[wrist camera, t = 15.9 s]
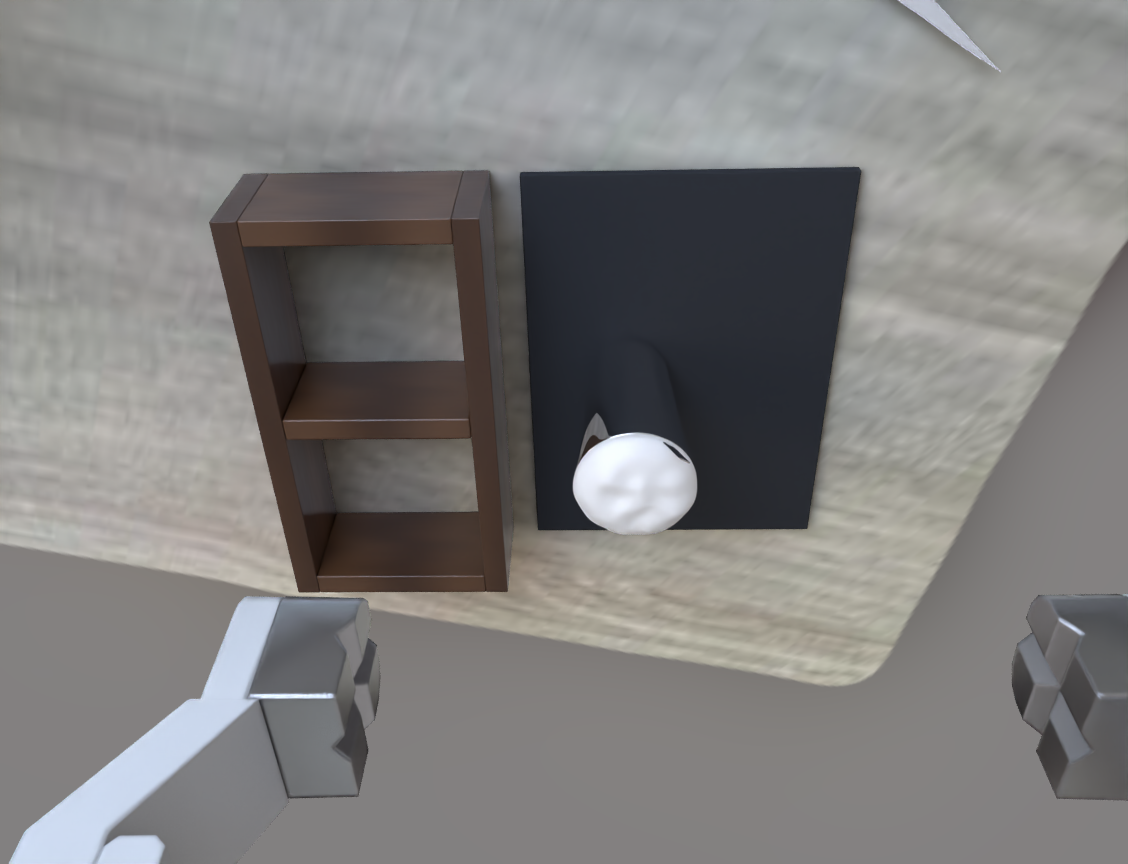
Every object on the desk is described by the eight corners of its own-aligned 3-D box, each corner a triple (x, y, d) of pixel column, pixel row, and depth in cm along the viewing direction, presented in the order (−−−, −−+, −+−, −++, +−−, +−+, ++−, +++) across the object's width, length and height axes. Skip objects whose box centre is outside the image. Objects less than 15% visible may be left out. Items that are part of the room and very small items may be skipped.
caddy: (319, 527, 51) (298, 592, 47) (243, 173, 40) (208, 221, 36) (513, 526, 50) (507, 592, 47) (489, 169, 40) (479, 217, 36)
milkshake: (712, 338, 43) (741, 487, 35) (644, 427, 46) (657, 584, 38) (620, 290, 42) (628, 433, 34) (556, 385, 45) (549, 538, 37)
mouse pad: (538, 525, 50) (538, 530, 50) (520, 171, 40) (519, 175, 39) (805, 523, 50) (807, 529, 49) (859, 166, 39) (861, 170, 39)
